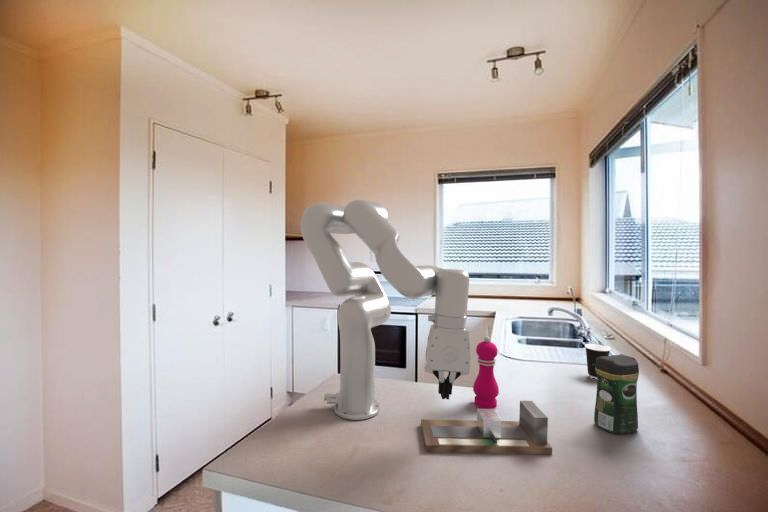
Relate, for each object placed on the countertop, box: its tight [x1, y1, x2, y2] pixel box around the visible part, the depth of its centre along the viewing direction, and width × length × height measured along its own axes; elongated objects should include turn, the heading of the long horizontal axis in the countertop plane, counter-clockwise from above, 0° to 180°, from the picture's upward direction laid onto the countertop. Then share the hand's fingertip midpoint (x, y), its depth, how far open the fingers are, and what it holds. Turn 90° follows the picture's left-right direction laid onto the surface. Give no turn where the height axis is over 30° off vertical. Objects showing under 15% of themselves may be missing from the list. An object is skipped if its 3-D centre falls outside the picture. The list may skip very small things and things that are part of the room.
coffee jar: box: [593, 353, 640, 435], centre depth 93 cm, size 10×8×19 cm
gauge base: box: [420, 400, 553, 455], centre depth 87 cm, size 28×12×8 cm, turn 90°
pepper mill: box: [472, 335, 500, 409], centre depth 106 cm, size 7×7×20 cm
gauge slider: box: [476, 408, 502, 443], centre depth 85 cm, size 4×9×4 cm, turn 0°
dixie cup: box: [584, 343, 611, 379], centre depth 129 cm, size 8×8×11 cm
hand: (444, 396), depth 87 cm, fingers closed
